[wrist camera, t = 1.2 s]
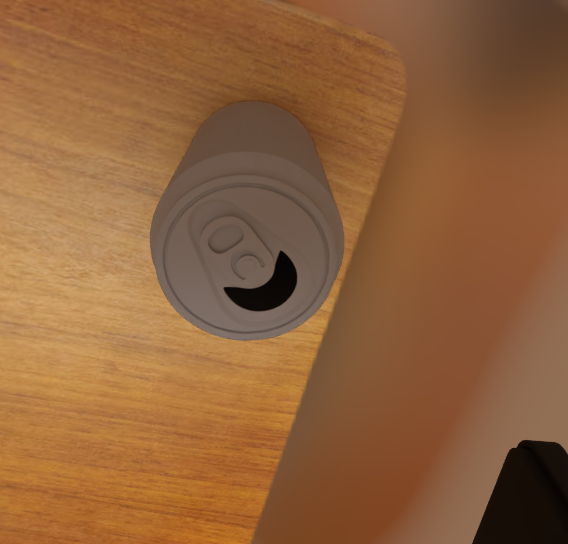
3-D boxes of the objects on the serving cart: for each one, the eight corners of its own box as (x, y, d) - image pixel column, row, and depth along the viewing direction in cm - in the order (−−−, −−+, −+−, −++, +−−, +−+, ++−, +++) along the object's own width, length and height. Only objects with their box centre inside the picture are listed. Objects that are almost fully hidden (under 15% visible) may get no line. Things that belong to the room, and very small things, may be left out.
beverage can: (240, 244, 29) (227, 383, 19) (163, 147, 27) (96, 243, 16) (340, 178, 28) (388, 287, 17) (268, 69, 26) (271, 117, 15)
